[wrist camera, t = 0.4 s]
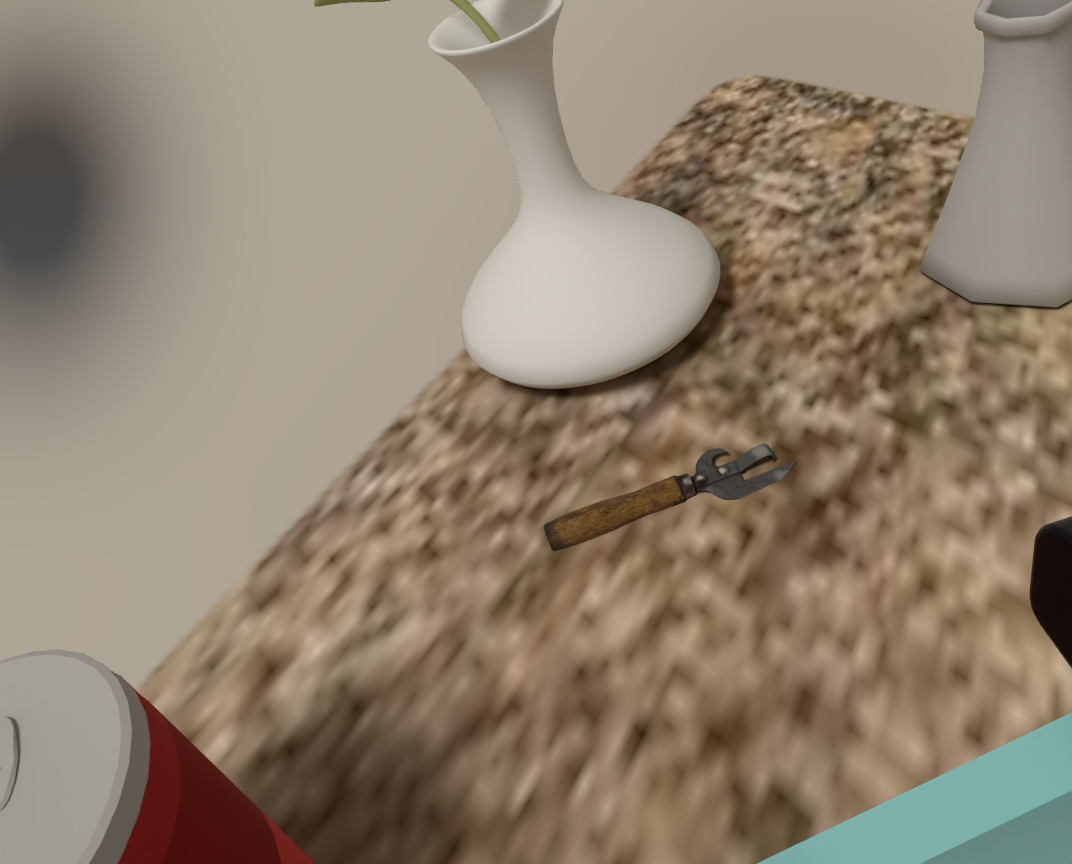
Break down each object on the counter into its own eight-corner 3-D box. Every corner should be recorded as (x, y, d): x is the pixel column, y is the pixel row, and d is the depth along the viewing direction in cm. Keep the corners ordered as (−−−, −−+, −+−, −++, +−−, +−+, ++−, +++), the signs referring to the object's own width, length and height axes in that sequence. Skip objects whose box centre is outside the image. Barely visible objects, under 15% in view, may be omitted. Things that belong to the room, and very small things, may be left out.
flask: (1068, 335, 34) (1086, 62, 28) (886, 283, 39) (865, 42, 33) (1171, 223, 36) (1209, -51, 30) (986, 188, 41) (986, -53, 35)
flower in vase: (760, 247, 43) (623, -493, 27) (674, 426, 37) (428, -412, 21) (511, 248, 50) (284, -347, 34) (400, 400, 43) (54, -252, 27)
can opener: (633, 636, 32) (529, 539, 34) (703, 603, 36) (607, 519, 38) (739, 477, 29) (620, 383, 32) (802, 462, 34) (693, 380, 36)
